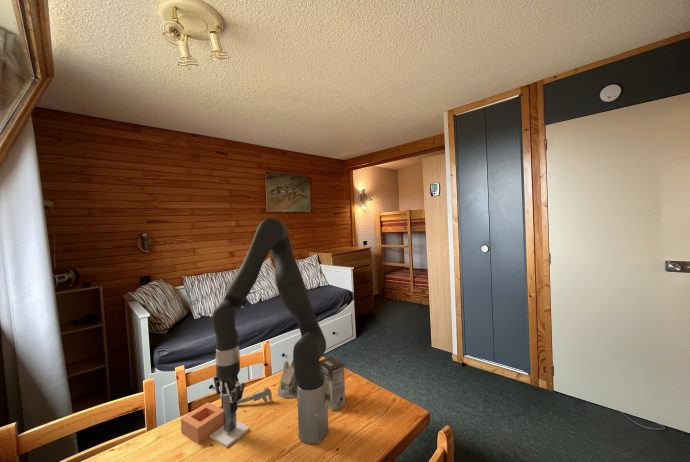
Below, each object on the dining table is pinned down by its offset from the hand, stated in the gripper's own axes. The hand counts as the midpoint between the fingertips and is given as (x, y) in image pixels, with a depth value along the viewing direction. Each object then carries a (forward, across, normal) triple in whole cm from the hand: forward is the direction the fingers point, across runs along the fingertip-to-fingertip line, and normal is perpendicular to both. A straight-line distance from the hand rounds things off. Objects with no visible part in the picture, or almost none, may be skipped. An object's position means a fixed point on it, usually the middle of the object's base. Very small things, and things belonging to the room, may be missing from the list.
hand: (229, 409), depth 92 cm
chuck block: (+8, +10, +3) cm, 14 cm away
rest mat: (+8, 0, 0) cm, 8 cm away
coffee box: (+9, -22, -30) cm, 39 cm away
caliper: (+9, +8, -13) cm, 18 cm away
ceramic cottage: (+9, -4, -31) cm, 32 cm away
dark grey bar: (+6, 0, 0) cm, 6 cm away
